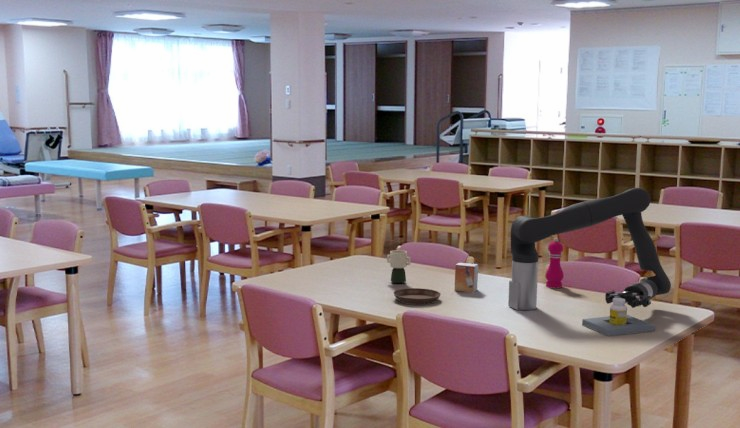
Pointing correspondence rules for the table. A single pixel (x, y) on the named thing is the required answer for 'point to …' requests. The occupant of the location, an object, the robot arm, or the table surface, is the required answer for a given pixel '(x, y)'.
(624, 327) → the hole board
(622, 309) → the supplement bottle
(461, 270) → the small box
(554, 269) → the pepper mill
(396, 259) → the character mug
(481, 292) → the table surface
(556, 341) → the table surface
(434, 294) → the plant saucer
